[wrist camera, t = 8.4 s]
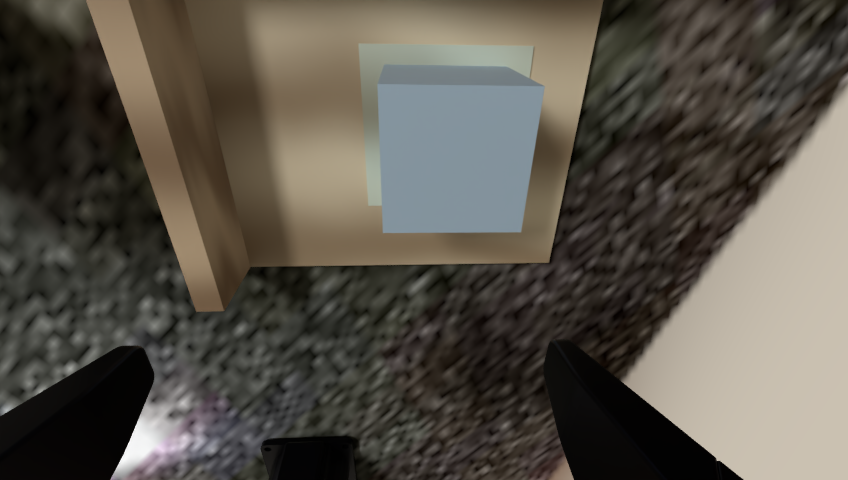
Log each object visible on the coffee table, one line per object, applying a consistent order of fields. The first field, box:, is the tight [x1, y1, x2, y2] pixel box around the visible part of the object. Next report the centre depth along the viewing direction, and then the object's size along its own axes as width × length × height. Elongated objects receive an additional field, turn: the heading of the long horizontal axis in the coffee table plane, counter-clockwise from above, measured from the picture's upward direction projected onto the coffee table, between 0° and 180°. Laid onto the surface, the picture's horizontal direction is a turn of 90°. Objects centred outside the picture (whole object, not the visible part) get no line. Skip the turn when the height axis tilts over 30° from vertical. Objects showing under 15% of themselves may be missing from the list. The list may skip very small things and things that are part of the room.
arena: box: [86, 0, 603, 312], centre depth 16 cm, size 15×17×4 cm
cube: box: [377, 64, 545, 233], centre depth 15 cm, size 5×5×5 cm
